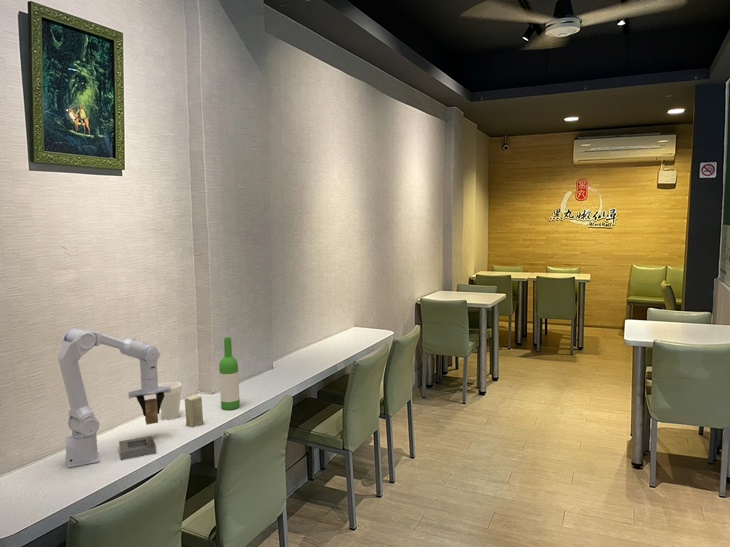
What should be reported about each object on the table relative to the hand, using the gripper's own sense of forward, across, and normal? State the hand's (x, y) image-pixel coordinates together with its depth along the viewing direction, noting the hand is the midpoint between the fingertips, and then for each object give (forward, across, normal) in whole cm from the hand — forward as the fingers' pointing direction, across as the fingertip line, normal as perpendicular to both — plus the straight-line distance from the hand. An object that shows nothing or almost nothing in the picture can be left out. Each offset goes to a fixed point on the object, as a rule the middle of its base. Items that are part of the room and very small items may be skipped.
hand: (151, 414), depth 205 cm
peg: (+3, 0, 0) cm, 3 cm away
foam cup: (+9, +9, +20) cm, 24 cm away
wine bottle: (+9, +33, +19) cm, 39 cm away
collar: (+9, -6, -10) cm, 15 cm away
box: (+9, +16, +6) cm, 19 cm away
